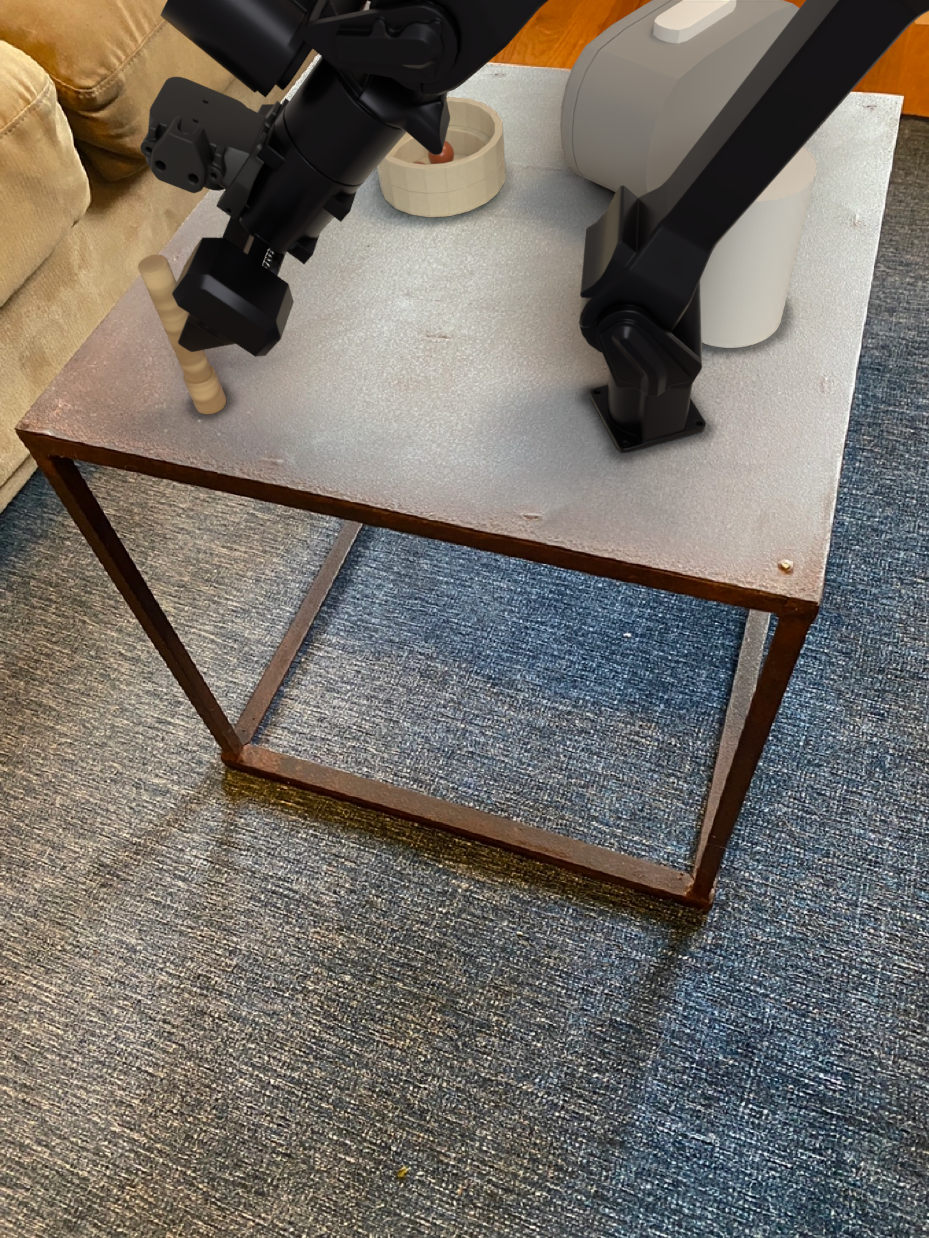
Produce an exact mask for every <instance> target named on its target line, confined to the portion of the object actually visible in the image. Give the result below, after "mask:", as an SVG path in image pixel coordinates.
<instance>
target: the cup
mask: <svg viewBox="0 0 929 1238" xmlns="http://www.w3.org/2000/svg"><path fill="white" fill-rule="evenodd" d="M817 171H818V164H817V160H816V158H815V157H814V155H813V154H812V152H810V150H809V149H807V148H806V147H805V145H804V146H803V147H802V148H801V149H800V150H799V151H798V153H797V154H796V155H795V156H794V157H793V158H792V159H791V161H790V162H789V163H788V164H787V165H786V166H785V167H784V168H783V170H782V171H781V172H780V173H779V174H778V175H777V176H776V178H775V179H774V180H773V181H772V182H771V183H770V184H769V186H768V187H767V188H766V189H765V190H764V191H763V192H762V193H761V195H760V196H759V197H758V198H757V199H756V200H755V201H754V203H753V204H752V205H751V206H750V207H749V208H748V209H747V211H746V212H745V213H744V214H743V215H742V216H741V217H740V218H739V220H738V221H737V222H736V223H735V224H734V225H733V226H732V228H731V229H730V230H729V231H728V232H727V233H726V234H725V236H724V237H723V238H722V239H721V240H720V241H719V242H718V244H717V245H716V247H715V248H714V250H713V251H712V253H711V256H710V258H709V260H708V263H707V265H706V267H705V270H704V272H703V274H702V277H701V279H700V294H701V338H702V344H703V345H704V344H705V345H708V346H711V347H716V348H726V349H732V348H733V349H734V348H737V349H738V348H744V347H745V348H746V347H749V346H753V345H756V344H758V343H761V342H763V341H765V340H766V339H768V338H770V337H771V336H772V335H773V334H774V333H775V332H776V331H777V329H778V328H779V327H780V324H781V322H782V318H783V314H784V310H785V306H786V302H787V297H788V294H789V288H790V285H791V281H792V276H793V272H794V268H795V265H796V264H795V263H796V260H797V255H798V251H799V246H800V243H801V238H802V236H803V235H802V234H803V230H804V226H805V222H806V218H807V214H808V210H809V205H810V200H811V196H812V192H813V188H814V184H815V179H816V175H817V173H818V172H817Z"/></svg>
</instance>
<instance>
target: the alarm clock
mask: <svg viewBox="0 0 929 1238" xmlns="http://www.w3.org/2000/svg"><path fill="white" fill-rule="evenodd" d="M799 9H800V7H799V6H797V5H795V4H794V3H793V2H790V1H787V0H650V1H649V2H647V3H645V4H644V5H642V6H641V7H638V8H637V9H636V10H633V12H632V11H631V12H630V13H629V14H627V15H626V16H623V17H622V18H621V19H619V20H617V21H616V22H614V23H612V24H611V25H610V26H608V27H607V28H606V29H604V30H603V31H602V32H601V33H600V34H599V35H597V36H596V37H594V39H592V40H590V41H589V43H587V44H586V45H584V47H583V49H582V51H581V52H580V54H579V56H578V57H577V58H576V60H575V62H574V63H573V65H572V67H571V70H570V73H569V76H568V77H567V80H566V84H565V88H564V92H563V96H562V102H561V106H560V107H561V108H560V121H559V122H560V123H559V131H560V143H561V144H560V145H561V150H562V153H563V158H564V161H565V164H566V165H567V166H568V168H570V170H571V171H572V172H573V173H574V174H575V175H578V176H580V177H581V178H584V179H586V180H589V181H591V182H592V183H595V184H597V185H599V186H601V187H603V188H605V189H607V190H610V191H612V192H614V193H616V191H617V190H618V189H619V187H620V186H622V185H623V186H625V187H626V188H628V189H629V190H630V191H631V192H632V193H633V194H635V195H636V196H637V197H640V196H642V195H644V194H646V193H648V192H650V191H652V190H654V189H656V188H658V187H660V186H661V185H662V184H663V183H665V182H666V181H667V180H668V179H669V177H670V176H671V175H672V173H673V172H674V171H675V170H676V168H677V167H678V166H679V164H680V163H681V162H682V160H683V159H684V158H685V157H686V155H687V154H688V153H689V151H690V150H691V149H692V147H693V146H694V145H695V144H696V142H697V141H698V140H699V138H700V137H701V136H702V134H703V133H704V132H705V131H706V129H707V128H708V127H709V125H710V124H711V123H712V122H713V120H714V119H715V118H716V116H717V115H718V114H719V112H720V111H721V110H722V109H723V107H724V106H725V105H726V103H727V102H728V101H729V99H730V98H731V97H732V96H733V94H734V93H735V92H736V90H737V89H738V88H739V86H740V85H741V84H742V83H743V81H744V80H745V79H746V77H747V76H748V75H749V73H750V72H751V71H752V70H753V68H754V67H755V66H756V64H757V63H758V62H759V61H760V59H761V58H762V57H763V55H764V54H765V53H766V51H767V50H768V49H769V48H770V46H771V45H772V44H773V42H774V41H775V40H776V38H777V37H778V36H779V35H780V33H781V32H782V31H783V29H784V28H785V27H786V25H787V24H788V23H789V22H790V20H791V19H792V18H793V16H794V15H795V14H796V12H797V11H798V10H799Z"/></svg>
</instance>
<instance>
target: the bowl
mask: <svg viewBox="0 0 929 1238" xmlns="http://www.w3.org/2000/svg"><path fill="white" fill-rule="evenodd" d="M447 104H448V110H449V114H450V122H449V126H448V130H447V134H446V138H445V141H447V142H448V143H450V145H451V146H452V148H453V150H454V159H453V161H451V162H447V163H442V164H431V163H430V161H429V158H428V150H427V149H425V148H424V147H423V146H422V145H421V144H420V143H419V142H417V141H416V140H415V139H414V138H413V137H412V136H411V135H409V134H408V133H407V132H406V133H405V134H404V136H403V137H402V138H401V139H400V140H399V142H398V143H397V144H396V145H395V146H394V147H393V149H392V150H391V151H390V152H389V153H388V154H387V156H386V157H385V158H384V159H383V160H382V162H381V163H380V164H379V165H378V166H377V167H376V170H377V175H378V181H379V182H378V183H379V187H380V191H381V193H382V195H383V198H384V200H385V201H386V202H387V203H388V204H390V205H391V206H392V207H393V208H394V209H395V210H398V211H401V212H404V213H406V214H409V215H412V216H419V217H425V218H441V217H450V216H455V215H456V216H457V215H460V214H463V213H468V212H471V211H473V210H475V209H477V208H479V207H481V206H483V205H485V204H487V203H489V202H490V201H491V200H492V199H494V197H495V196H496V195H498V194H499V192H500V191H501V189H502V187H503V185H504V183H505V181H506V158H505V139H504V122H503V120H502V118H501V116H500V115H499V114H498V111H496V110H495V109H493V108H492V107H491V106H489V105H487V104H486V103H484V102H481V101H478V100H474V99H471V98H468V97H467V98H465V97H458V96H447ZM416 161H420V162H423V163H425V164H426V165H424V164H416V163H413V162H416Z"/></svg>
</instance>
